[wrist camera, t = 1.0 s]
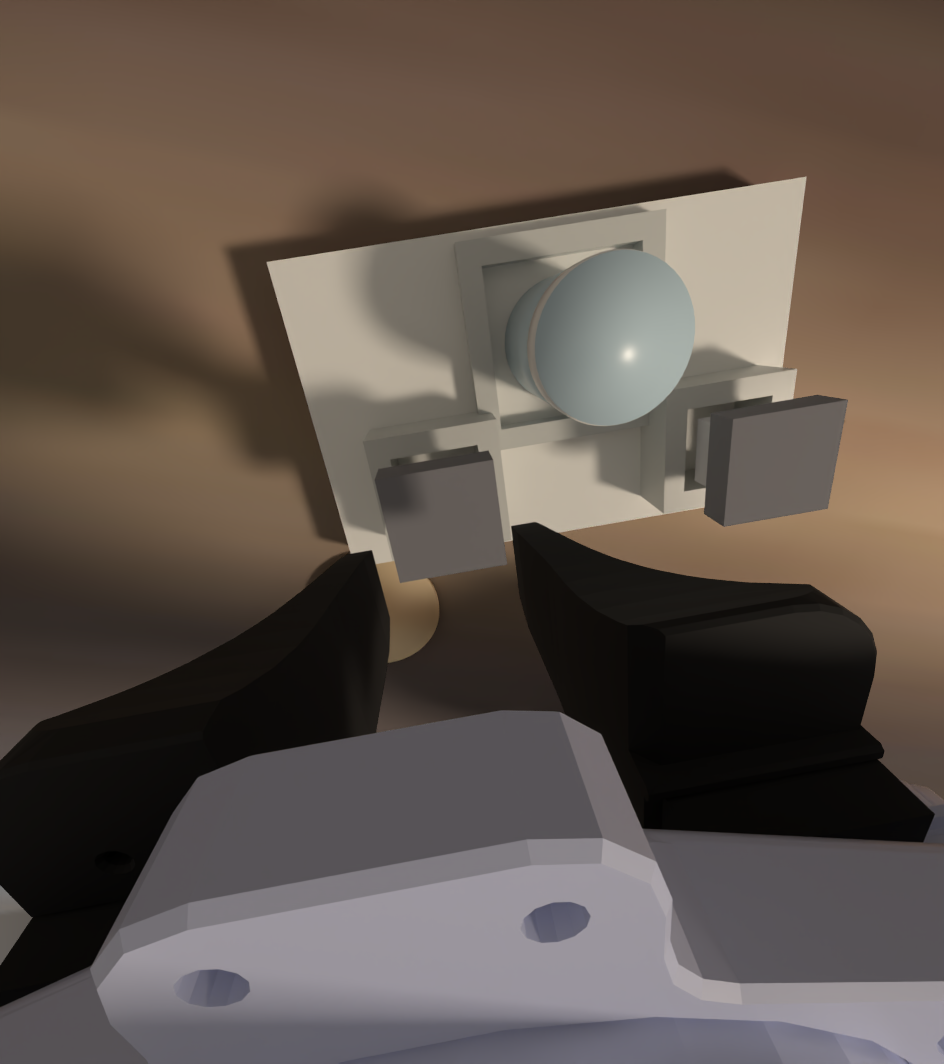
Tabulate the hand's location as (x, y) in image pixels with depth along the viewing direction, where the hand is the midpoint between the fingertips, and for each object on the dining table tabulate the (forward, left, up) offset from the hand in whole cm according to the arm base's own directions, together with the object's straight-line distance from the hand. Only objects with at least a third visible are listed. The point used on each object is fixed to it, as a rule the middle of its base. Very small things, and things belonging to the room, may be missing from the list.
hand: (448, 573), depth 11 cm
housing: (+2, -5, -10) cm, 12 cm away
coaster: (-7, +4, -10) cm, 13 cm away
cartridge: (+4, -6, -8) cm, 11 cm away
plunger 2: (0, -11, -6) cm, 13 cm away
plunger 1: (0, 0, -6) cm, 6 cm away
